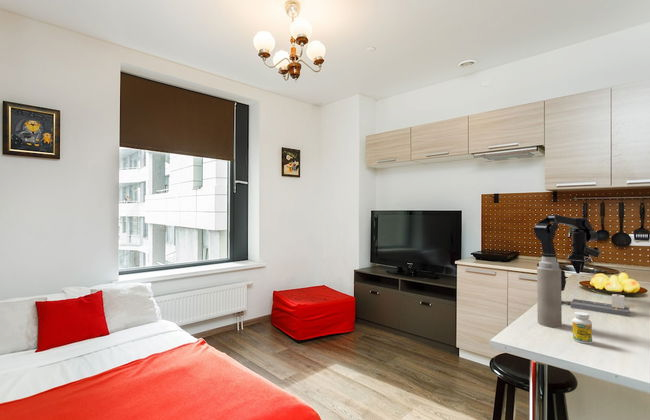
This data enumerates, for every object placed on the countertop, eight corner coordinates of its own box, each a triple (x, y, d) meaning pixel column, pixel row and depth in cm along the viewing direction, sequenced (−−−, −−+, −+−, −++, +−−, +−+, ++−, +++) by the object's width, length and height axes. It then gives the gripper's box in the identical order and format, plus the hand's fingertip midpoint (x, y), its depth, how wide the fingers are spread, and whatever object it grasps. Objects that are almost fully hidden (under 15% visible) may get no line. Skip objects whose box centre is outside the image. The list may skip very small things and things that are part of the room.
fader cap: (611, 306, 148) (611, 295, 148) (612, 305, 150) (612, 293, 150) (624, 308, 145) (623, 296, 145) (624, 306, 148) (624, 294, 148)
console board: (570, 307, 155) (570, 302, 155) (573, 303, 163) (573, 298, 163) (628, 316, 142) (628, 311, 142) (629, 311, 149) (629, 306, 149)
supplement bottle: (588, 339, 117) (588, 312, 117) (594, 345, 112) (594, 316, 112) (570, 337, 119) (570, 310, 119) (575, 342, 114) (575, 314, 114)
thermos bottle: (539, 319, 139) (539, 252, 139) (563, 323, 133) (562, 253, 133) (535, 324, 133) (534, 254, 133) (559, 329, 127) (559, 255, 128)
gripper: (596, 244, 160) (597, 277, 160) (602, 241, 173) (602, 271, 173) (568, 243, 168) (568, 274, 168) (575, 240, 181) (575, 269, 181)
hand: (579, 272), depth 172 cm, fingers open, 9 cm apart
